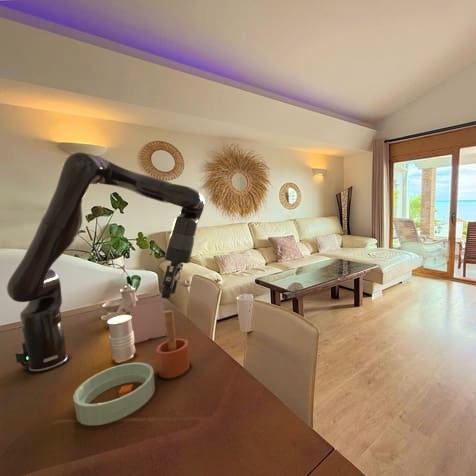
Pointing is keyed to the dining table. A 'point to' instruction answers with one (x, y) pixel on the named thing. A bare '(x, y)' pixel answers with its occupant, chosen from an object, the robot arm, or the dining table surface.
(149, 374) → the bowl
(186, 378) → the dining table surface
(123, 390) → the carrot chunk
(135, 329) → the greeting card
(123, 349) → the candle
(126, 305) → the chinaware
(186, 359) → the crock
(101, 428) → the dining table surface
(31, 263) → the robot arm
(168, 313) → the stirring stick
